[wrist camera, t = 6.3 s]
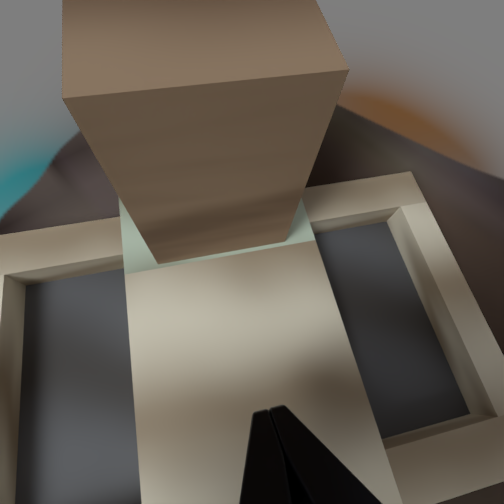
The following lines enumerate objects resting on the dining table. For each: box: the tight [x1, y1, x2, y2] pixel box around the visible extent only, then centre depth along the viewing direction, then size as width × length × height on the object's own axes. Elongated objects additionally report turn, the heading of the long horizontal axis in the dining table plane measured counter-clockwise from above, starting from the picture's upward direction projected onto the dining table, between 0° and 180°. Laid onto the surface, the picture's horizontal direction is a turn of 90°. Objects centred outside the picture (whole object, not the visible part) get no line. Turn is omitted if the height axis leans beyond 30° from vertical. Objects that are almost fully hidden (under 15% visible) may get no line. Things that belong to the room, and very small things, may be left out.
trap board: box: [0, 172, 504, 504], centre depth 14 cm, size 24×22×4 cm
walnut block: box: [62, 0, 349, 264], centre depth 12 cm, size 6×6×9 cm
